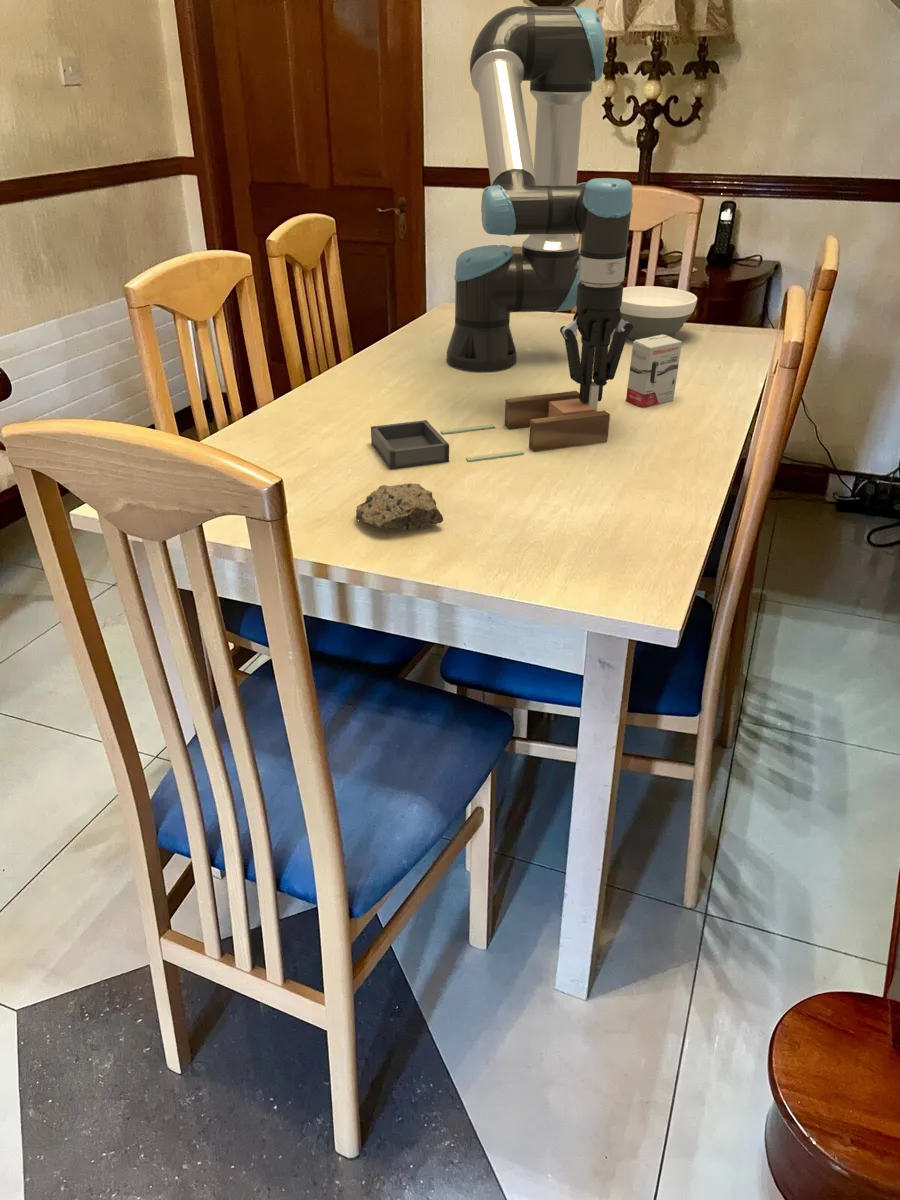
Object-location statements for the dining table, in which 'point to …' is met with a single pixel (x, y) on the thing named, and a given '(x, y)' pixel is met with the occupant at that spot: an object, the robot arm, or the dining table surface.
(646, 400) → the ink box
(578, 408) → the rust block
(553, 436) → the channel
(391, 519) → the rock
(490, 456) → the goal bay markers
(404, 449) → the tray
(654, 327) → the bowl
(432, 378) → the dining table surface
